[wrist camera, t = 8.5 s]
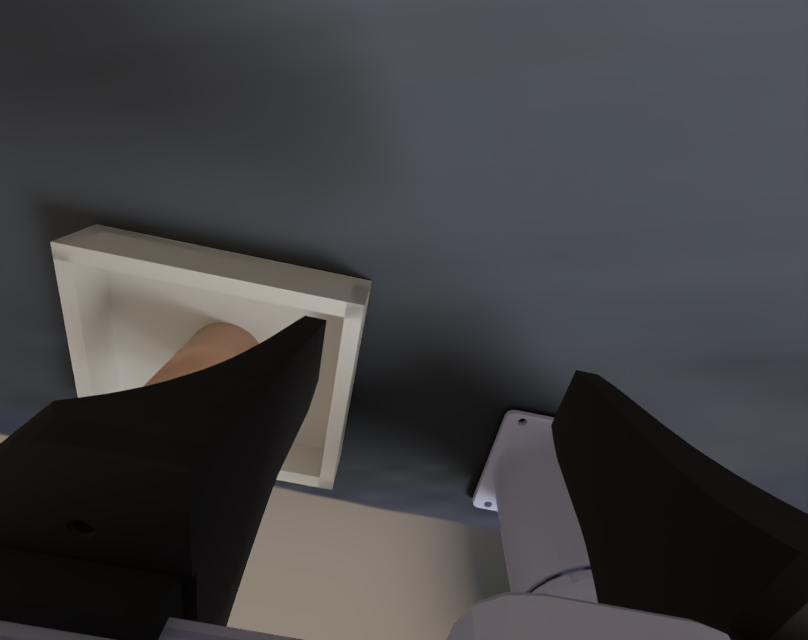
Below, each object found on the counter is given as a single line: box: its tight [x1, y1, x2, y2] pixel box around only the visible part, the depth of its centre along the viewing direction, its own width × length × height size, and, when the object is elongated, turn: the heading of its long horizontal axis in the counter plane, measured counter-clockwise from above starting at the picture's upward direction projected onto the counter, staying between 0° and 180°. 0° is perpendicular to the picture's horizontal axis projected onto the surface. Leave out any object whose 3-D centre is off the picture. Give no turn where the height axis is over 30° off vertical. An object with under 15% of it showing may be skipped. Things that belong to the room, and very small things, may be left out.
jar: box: [144, 322, 259, 386], centre depth 21 cm, size 4×4×7 cm
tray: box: [50, 224, 372, 490], centre depth 24 cm, size 14×12×3 cm
